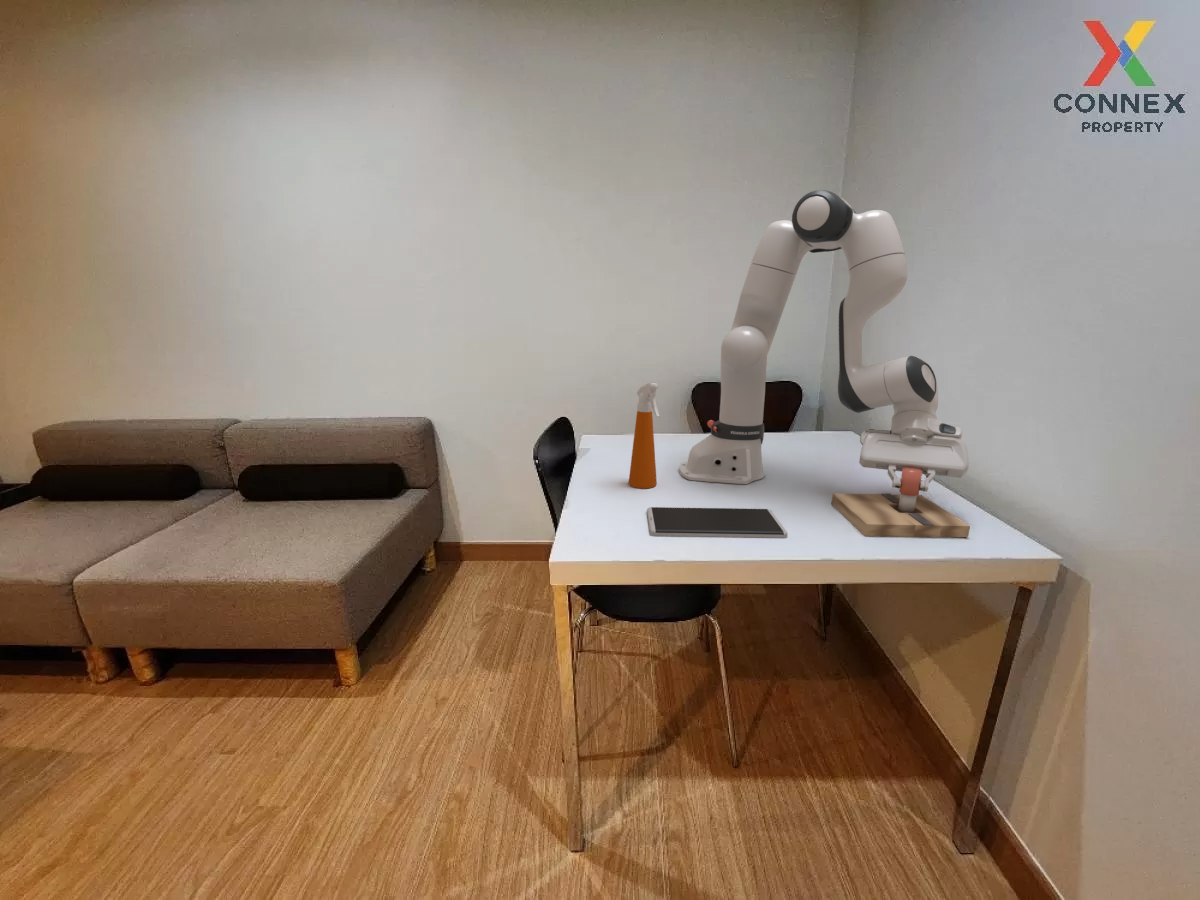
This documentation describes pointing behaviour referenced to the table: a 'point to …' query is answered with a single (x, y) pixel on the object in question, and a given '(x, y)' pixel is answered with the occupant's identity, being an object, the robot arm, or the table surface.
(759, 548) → the table surface
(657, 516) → the smartphone
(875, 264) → the robot arm
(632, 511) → the table surface
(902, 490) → the red white cylinder
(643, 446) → the spray bottle
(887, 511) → the board
